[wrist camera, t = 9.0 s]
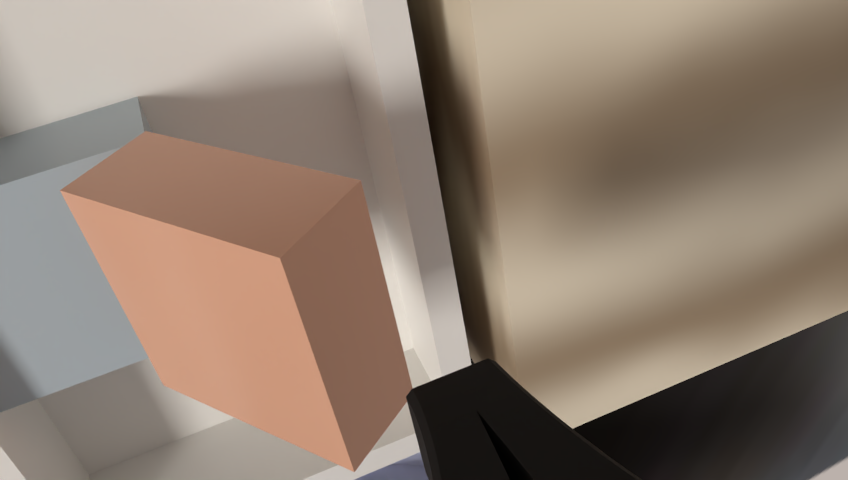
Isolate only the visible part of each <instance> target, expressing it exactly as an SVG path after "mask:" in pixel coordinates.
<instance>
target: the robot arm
mask: <svg viewBox="0 0 848 480" xmlns="http://www.w3.org/2000/svg"><path fill="white" fill-rule="evenodd" d="M406 399H407V403H408V407H409V411H410V415H411V418H412V422H413V426H414V430H415V434H416V438H417V441H418V445H419V449H420V452H419V453H417V454H414V455H412V456H409V457H407V458H405V459H402V460H400V461H397V462H395V463H393V464H390V465H388V466H385V467H383V468H381V469H378V470H376V471H373V472H371V473H369V474H366V475H364V476H362V477H359V478H357V479H354V480H642V479H640V478H639V477H637V476H636V475H635V474H633V473H632V472H630V471H629V470H627V469H626V468H624V467H623V466H622V465H620V464H619V463H617V462H616V461H615V460H613V459H612V458H610V457H609V456H608V455H606V454H605V453H604V452H602V451H601V450H600V449H598V448H597V447H596V446H595V445H593V444H592V443H591V442H589V441H588V440H587V439H585V438H584V437H583V436H581V435H580V434H579V433H577V432H576V431H575V430H573V429H572V428H571V427H570V426H568V425H567V424H566V423H565V422H563V421H562V420H561V419H560V418H558V417H557V416H556V415H555V414H554V413H552V412H551V411H550V410H549V409H548V408H546V407H545V406H544V405H543V404H542V403H541V402H539V401H538V400H537V399H536V398H535V397H534V396H532V395H531V394H530V393H529V392H528V391H527V390H526V389H524V388H523V387H522V386H521V385H520V384H519V383H518V382H517V381H516V380H515V379H513V378H512V377H511V376H510V375H509V374H508V373H507V372H506V371H505V370H504V369H503V368H502V367H501V366H500V365H499V364H498V363H497V362H496V361H494V360H491V359H489V358H487V359H485V360H482V361H480V362H477V363H475V364H472V365H470V366H467V367H465V368H462V369H460V370H457V371H455V372H452V373H450V374H447V375H445V376H442V377H440V378H437V379H435V380H432V381H430V382H427V383H425V384H422V385H420V386H417V387H415V388H412V389H411V391H410V392H409V393H408V395H407V396H406Z"/></svg>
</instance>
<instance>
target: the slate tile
mask: <svg viewBox="0 0 848 480" xmlns="http://www.w3.org/2000/svg"><path fill="white" fill-rule="evenodd" d="M145 131H148V132H152V130H151V127H150V125H149V123H148V120H147V118H146V116H145V113H144V111H143V109H142V106H141V104H140V101H139V99H138V97H134V98H131V99H128V100H125V101H121V102H118V103H115V104H111V105H108V106H105V107H102V108H98V109H95V110H92V111H88V112H85V113H82V114H79V115H75V116H72V117H69V118H66V119H62V120H59V121H56V122H52V123H49V124H46V125H43V126H39V127H36V128H33V129H30V130H26V131H23V132H20V133H16V134H13V135H10V136H7V137H3V138H0V412H3V411H6V410H9V409H11V408H14V407H17V406H19V405H22V404H25V403H28V402H30V401H33V400H36V399H38V398H41V397H44V396H47V395H49V394H52V393H55V392H57V391H60V390H63V389H66V388H68V387H71V386H74V385H76V384H79V383H82V382H85V381H87V380H90V379H93V378H95V377H98V376H101V375H104V374H106V373H109V372H112V371H114V370H117V369H120V368H123V367H125V366H128V365H131V364H133V363H136V362H139V361H142V360H144V359H147V358H149V357H148V355H147V353H146V352H145V350H144V348H143V346H142V344H141V342H140V340H139V338H138V336H137V335H136V333H135V331H134V329H133V327H132V325H131V323H130V321H129V320H128V318H127V316H126V314H125V312H124V310H123V308H122V306H121V305H120V303H119V301H118V299H117V297H116V295H115V293H114V291H113V289H112V288H111V286H110V284H109V282H108V280H107V278H106V276H105V274H104V273H103V271H102V269H101V267H100V265H99V263H98V261H97V259H96V258H95V256H94V254H93V252H92V250H91V248H90V246H89V244H88V242H87V241H86V239H85V237H84V235H83V233H82V231H81V229H80V227H79V226H78V224H77V222H76V220H75V218H74V216H73V214H72V212H71V211H70V209H69V207H68V205H67V203H66V201H65V199H64V197H63V195H62V194H61V192H60V190H61V189H62V188H64V187H65V186H67V185H68V184H70V183H71V182H73V181H74V180H75V179H77V178H78V177H80V176H81V175H83V174H84V173H86V172H87V171H88V170H90V169H91V168H93V167H94V166H96V165H97V164H99V163H100V162H101V161H103V160H104V159H106V158H107V157H109V156H110V155H112V154H113V153H114V152H116V151H117V150H119V149H120V148H122V147H123V146H125V145H126V144H127V143H129V142H130V141H132V140H133V139H135V138H136V137H138V136H139V135H140V134H142V133H143V132H145ZM152 133H153V132H152Z"/></svg>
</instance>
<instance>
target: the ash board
mask: <svg viewBox="0 0 848 480" xmlns="http://www.w3.org/2000/svg"><path fill="white" fill-rule="evenodd" d="M407 6H408V11H409V17H410V22H411V28H412V34H413V39H414V45H415V51H416V56H417V62H418V67H419V73H420V79H421V84H422V90H423V96H424V101H425V107H426V113H427V118H428V124H429V129H430V135H431V141H432V146H433V152H434V158H435V163H436V169H437V174H438V180H439V186H440V191H441V197H442V203H443V208H444V214H445V219H446V225H447V231H448V236H449V242H450V248H451V253H452V259H453V265H454V270H455V276H456V281H457V287H458V293H459V298H460V304H461V310H462V315H463V321H464V326H465V332H466V338H467V343H468V349H469V355H470V357H471V358H472V360H473V362H474V363H477V362H480V361H482V360H485V359H487V358H489V359H491V360H494V361H496V362H497V363H498V364H499V365H500V366H501V367H502V368H503V369H504V370H505V371H506V372H507V373H508V374H509V375H510V376H511V377H512V378H513V379H515V380H516V381H517V382H518V383H519V384H520V385H521V386H522V387H523V388H524V389H526V390H527V391H528V392H529V393H530V394H531V395H532V396H534V397H535V398H536V399H537V400H538V401H539V402H541V403H542V404H543V405H544V406H545V407H546V408H548V409H549V410H550V411H551V412H552V413H554V414H555V415H556V416H557V417H558V418H560V419H561V420H562V421H563V422H565V423H566V424H567V425H568V426H570V427H571V428H572V429H573V428H575V427H577V426H580V425H582V424H584V423H587V422H589V421H591V420H594V419H596V418H598V417H601V416H603V415H605V414H608V413H610V412H612V411H615V410H617V409H619V408H622V407H624V406H626V405H629V404H631V403H633V402H636V401H638V400H640V399H643V398H645V397H647V396H650V395H652V394H654V393H657V392H659V391H661V390H664V389H666V388H668V387H671V386H673V385H675V384H678V383H680V382H682V381H685V380H687V379H689V378H692V377H694V376H696V375H699V374H701V373H703V372H706V371H708V370H710V369H713V368H715V367H717V366H720V365H722V364H724V363H727V362H729V361H731V360H734V359H736V358H738V357H741V356H743V355H745V354H748V353H750V352H752V351H755V350H757V349H759V348H762V347H764V346H766V345H769V344H771V343H773V342H776V341H778V340H780V339H783V338H785V337H787V336H790V335H792V334H794V333H797V332H799V331H801V330H804V329H806V328H808V327H811V326H813V325H815V324H818V323H820V322H822V321H825V320H827V319H829V318H832V317H834V316H836V315H839V314H841V313H843V312H846V311H848V0H407Z"/></svg>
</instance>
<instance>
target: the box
mask: <svg viewBox="0 0 848 480" xmlns="http://www.w3.org/2000/svg"><path fill="white" fill-rule="evenodd" d="M134 97H138V99H139V101H140V104H141V106H142V109H143V111H144V113H145V116H146V118H147V120H148V123H149V125H150V127H151V130H152V132H153V133H157V134H161V135H165V136H170V137H174V138H178V139H183V140H187V141H192V142H196V143H200V144H205V145H209V146H213V147H218V148H222V149H226V150H231V151H235V152H240V153H244V154H248V155H253V156H257V157H261V158H266V159H270V160H274V161H279V162H283V163H288V164H292V165H296V166H301V167H305V168H309V169H314V170H318V171H322V172H327V173H331V174H336V175H340V176H344V177H349V178H353V179H357V180H361V183H362V187H363V191H364V195H365V199H366V203H367V207H368V211H369V215H370V219H371V223H372V227H373V231H374V235H375V239H376V243H377V247H378V251H379V255H380V259H381V263H382V267H383V271H384V275H385V279H386V283H387V287H388V291H389V295H390V299H391V303H392V307H393V311H394V315H395V319H396V323H397V327H398V332H399V336H400V340H401V344H402V348H403V352H404V356H405V360H406V364H407V368H408V372H409V376H410V380H411V384H412V388H415V387H417V386H420V385H422V384H425V383H427V382H430V381H432V380H435V379H437V378H440V377H442V376H445V375H447V374H450V373H452V372H455V371H457V370H460V369H462V368H465V367H467V366H470V365H471V360H470V355H469V349H468V343H467V338H466V332H465V326H464V321H463V315H462V310H461V304H460V298H459V293H458V287H457V281H456V276H455V270H454V265H453V259H452V253H451V248H450V242H449V236H448V231H447V225H446V219H445V214H444V208H443V203H442V197H441V191H440V186H439V180H438V174H437V169H436V163H435V158H434V152H433V146H432V141H431V135H430V129H429V124H428V118H427V113H426V107H425V101H424V96H423V90H422V84H421V79H420V73H419V67H418V62H417V56H416V51H415V45H414V39H413V34H412V28H411V22H410V17H409V11H408V6H407V0H0V138H3V137H7V136H10V135H13V134H16V133H20V132H23V131H26V130H30V129H33V128H36V127H39V126H43V125H46V124H49V123H52V122H56V121H59V120H62V119H66V118H69V117H72V116H75V115H79V114H82V113H85V112H88V111H92V110H95V109H98V108H102V107H105V106H108V105H111V104H115V103H118V102H121V101H125V100H128V99H131V98H134ZM419 452H420V449H419V445H418V441H417V438H416V434H415V430H414V426H413V422H412V418H411V415H410V411H409V407H408V403H407V402H406V404H405V405H404V406H403V408H402V409H401V410H400V412H399V413H398V414H397V416H396V417H395V419H394V420H393V421H392V423H391V424H390V425H389V427H388V428H387V429H386V431H385V432H384V433H383V435H382V436H381V437H380V439H379V440H378V441H377V443H376V444H375V445H374V447H373V448H372V449H371V451H370V452H369V453H368V455H367V456H366V458H365V459H364V460H363V462H362V463H361V464H360V466H359V467H358V468H357V470H356V471H355V472H353V471H351V470H348V469H346V468H344V467H342V466H340V465H337V464H335V463H333V462H331V461H329V460H326V459H324V458H322V457H320V456H318V455H316V454H313V453H311V452H309V451H307V450H305V449H302V448H300V447H298V446H296V445H294V444H291V443H289V442H287V441H285V440H283V439H280V438H278V437H276V436H274V435H272V434H269V433H267V432H265V431H263V430H261V429H258V428H256V427H254V426H252V425H250V424H247V423H245V422H243V421H241V420H239V419H236V418H234V417H232V416H230V415H228V414H225V413H223V412H221V411H219V410H217V409H214V408H212V407H210V406H208V405H206V404H204V403H201V402H199V401H197V400H195V399H193V398H190V397H188V396H186V395H184V394H182V393H179V392H177V391H175V390H173V389H171V388H168V387H166V386H164V385H163V383H162V382H161V380H160V378H159V376H158V374H157V372H156V370H155V368H154V367H153V365H152V363H151V361H150V359H149V358H147V359H144V360H142V361H139V362H136V363H133V364H131V365H128V366H125V367H123V368H120V369H117V370H114V371H112V372H109V373H106V374H104V375H101V376H98V377H95V378H93V379H90V380H87V381H85V382H82V383H79V384H76V385H74V386H71V387H68V388H66V389H63V390H60V391H57V392H55V393H52V394H49V395H47V396H44V397H41V398H38V399H36V400H33V401H30V402H28V403H25V404H22V405H19V406H17V407H14V408H11V409H9V410H6V411H3V412H0V480H354V479H357V478H359V477H362V476H364V475H366V474H369V473H371V472H373V471H376V470H378V469H381V468H383V467H385V466H388V465H390V464H393V463H395V462H397V461H400V460H402V459H405V458H407V457H409V456H412V455H414V454H417V453H419Z"/></svg>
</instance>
